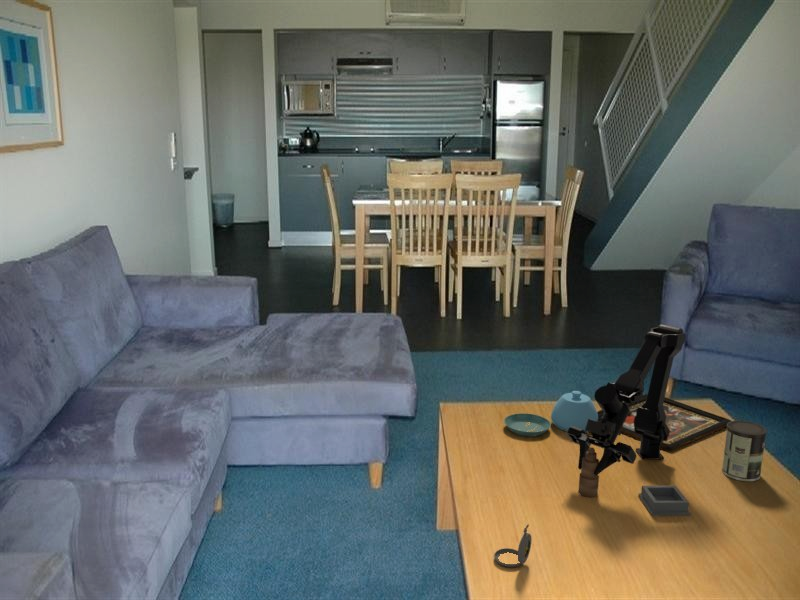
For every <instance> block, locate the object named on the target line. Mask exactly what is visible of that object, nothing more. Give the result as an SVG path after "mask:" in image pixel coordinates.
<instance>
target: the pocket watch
mask: <svg viewBox="0 0 800 600" xmlns="http://www.w3.org/2000/svg"><path fill="white" fill-rule="evenodd" d="M529 526H530V524H527V525H526V526H525V528H524V529H523V535H522V536H521V539H520V541H519V545H518V548H517V549H514V548H507V547H505V548H499V549H498V550H496V551H495V552H494V556H493V557H494V561H496V563H497V564H499V565H500V566H503V567H507V568H514V567H519V566H520V565H522V564H525V563H526V562H527V560H528V559H529V555H530V551H531V548H532V535H531V533H529V532H528V528H529ZM507 552H509V553H513V554H516V555H518V561H519V562H520V563H517V564H505V563H502V562H500V561H499V559H498V557H499V556H500V554H504V553H507Z"/></svg>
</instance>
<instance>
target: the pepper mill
mask: <svg viewBox="0 0 800 600" xmlns="http://www.w3.org/2000/svg"><path fill="white" fill-rule="evenodd" d="M597 455H598V454H597V452H596V449H595V448H594V447H591V446H590V448H589V449H588V451H587V452H586V456H585V457H583V458H582V467H581V470H580V473H579V479H578V492H577V493H578V494H579V493H580V494H581V495H580V494H579V495H580V496H581V497H585V496H586V498H594V497H595V498H596V497H597V496H598V492H599V482H600V481H599V479H600V475H599V474H598V475H597V476H595V475H594V472H595V469H596V467H597V465H598V463H599V462H600V459H598V458H597Z"/></svg>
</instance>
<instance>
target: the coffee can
mask: <svg viewBox="0 0 800 600" xmlns="http://www.w3.org/2000/svg"><path fill="white" fill-rule="evenodd" d="M767 433H768V430H767V428H766V427H764V426H763V425H761V424H759V423H756V422H752V421H750V420H749V421H748V420H731V422H729V423H727V427H726V434H725V443H724V449H723V450H724V451H723V452H724V453H723V459H722V465H721V466H722V467H721V472H722V473H723V474H724V475H725V477H728V478H730V479H733V480H737V481H740V482H756V481H758V480H760V479H761V476H762V475H761V474H762V473H761V472H762V466H763V460H764V459H763V458H764V451H765V446H766V439H767V438H766V437H767V435H768V434H767Z"/></svg>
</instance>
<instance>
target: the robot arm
mask: <svg viewBox="0 0 800 600" xmlns="http://www.w3.org/2000/svg"><path fill="white" fill-rule="evenodd" d="M686 339H687V334H686V333H685V332H684V330H683V328H682V327H677V326H672V325H667V324H661V323H660V325H658V326H657V327H656V326H655V327H652V328H650V331H648V332H646V335H645V337H644V341H643V343H642V346H641V347H640V349H639V351H638V353H637V354H636V356H635V358H634V360H633V361H632V364H631V365H630V367H629V368H628V370H627V371H625V372H624V373H622V374H620V375H619V376H618V378H617V379H616V381H615V382H614V383H613V382H610V381H609V382H607V383H606V385H603V386H600V387H598V389H596V390H595V392H594V396H593V397H594V399H595V401H596V403H597V404H598V406H599V408H601V409H600V410H603V412H605V413H604V415H603V417H602V418H600V417H599V419H598V420H597V421H594V420H591V419H588V421H587V424H586V427H585V430H586V431H590V432H588V433H589V434H590V435H591V436H590V435H588V434H587V432H586V433H585V431H584V430H583V429H580V428H577V427H575V426H571V427H569V428H568V430H567V432H566V431H565V434H566V435H567V436H568V438H569V439H570V440H571V442H573V443H574V444H576V445H578V446H579V455H578V456H579V457H578V466H577V468H578V470H580V471H581V467H582V458H583V457H585V456H586V452H587V451H588V449H589V448H590V447H591V446H592V445H593V446H596V447H598V448H601V449H603V454H602V456H601V458H600V459H599V463H598V465H597V467H596V469H595V472H594V475H595V476H597V475H598V476H599V475H600V474H601V473H602V472H604V470H606V469H607V468H609V467H610V466H612V465H613V464H615V463H616V462H618V463H620V462H622V461H623V462H626V463H629V464H634V463H635V461H636V459H637V454H638V455H639V457H640V458H641V459H642V460H664V459H665V456H663V454H662V453H661V449H660V447H661V442H662V441H667V439H668V437H669V433H670V430H669V428H668V427H667V425H666V423H665V421H666V414H665V411H664V408H663V402H664V397H665V398H666V394H667V389H668V384H669V380H670V375H671V371H672V366H673V361H674V358H675V357H676V356H677V355H678V354H679V353H680V352H681V351H682V350H683V346H684V344H685V342H686ZM652 368H653V369H652ZM651 369H652V373H651V376H650V377H651V378H650V381H649V385H648V386H649V387H648V390H647V393H646V394H647V398H646V402H645V403H644V404H643V405H642V406H641V407H638V409H637V413H636V416H635V418H634V429H635V433H636V434H640V435H641V441H640V445H639V446H640V447H636V448H635V451H634V448H633V447H632V446H631V445H629V444H627V443H623V442H620V441H619V442H616V440H617V438H618V437H619V436H621V434H623V433H622V432H621V431H620V430H621V428H622V426H623V424H624V422H625V420H626V418H627V416H629V417H630V416H631V412H630V407H629V406H627V405H626V404H625V403H623V402H626V403H630V404H633V405H634V404H637V403H638V402H639V401H641V399H642V397H643V395H644V392H645V383H644V382H645V379H646V378H647V376H648V374H649V373H650V370H651ZM615 442H616V444H615ZM621 460H622V461H621Z"/></svg>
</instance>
